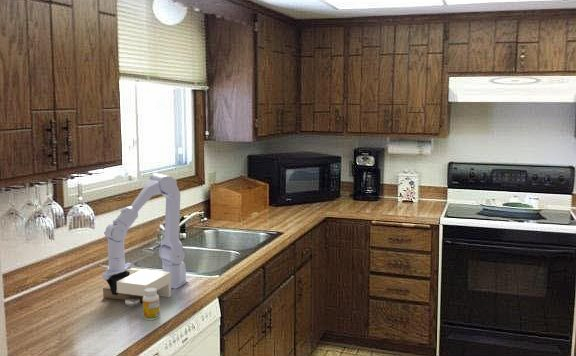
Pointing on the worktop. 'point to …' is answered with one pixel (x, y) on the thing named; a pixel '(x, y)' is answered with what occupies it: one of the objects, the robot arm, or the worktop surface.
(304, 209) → the worktop surface
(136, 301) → the clear glass cup
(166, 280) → the cream step stool
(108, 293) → the tan long block
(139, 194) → the robot arm
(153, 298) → the supplement bottle
